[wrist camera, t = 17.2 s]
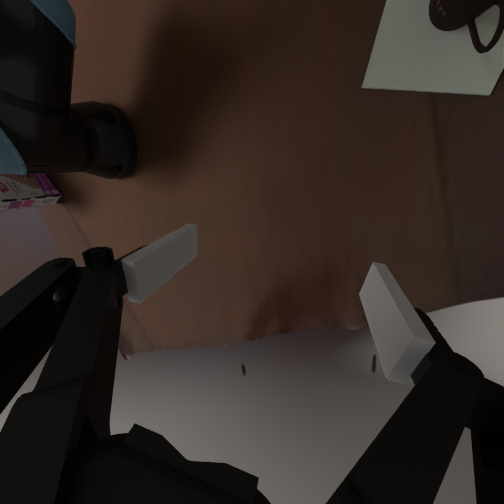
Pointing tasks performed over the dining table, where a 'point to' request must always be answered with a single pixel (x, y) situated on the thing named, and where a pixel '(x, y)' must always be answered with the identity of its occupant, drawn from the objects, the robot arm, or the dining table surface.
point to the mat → (432, 53)
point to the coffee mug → (465, 18)
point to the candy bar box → (27, 191)
